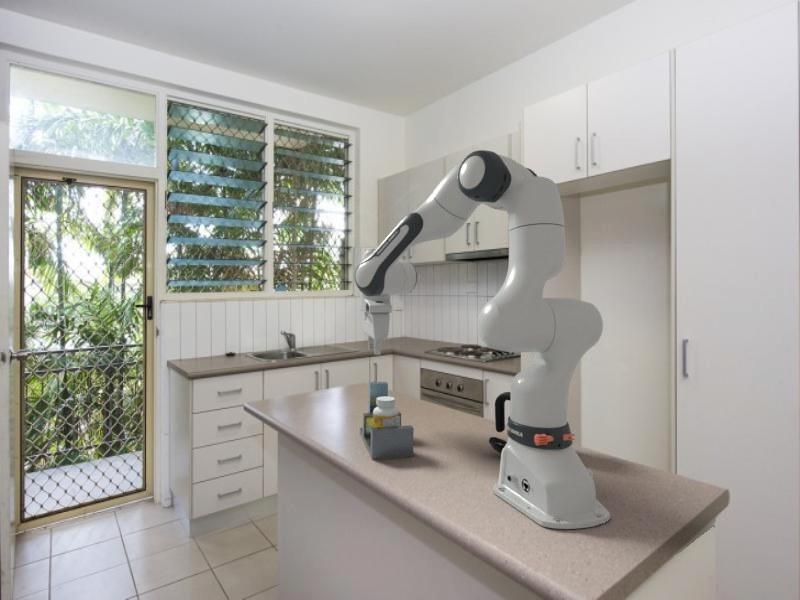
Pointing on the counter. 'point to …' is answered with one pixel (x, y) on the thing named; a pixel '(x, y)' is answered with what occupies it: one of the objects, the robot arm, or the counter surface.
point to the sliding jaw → (374, 405)
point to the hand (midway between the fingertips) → (374, 352)
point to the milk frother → (500, 421)
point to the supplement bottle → (385, 412)
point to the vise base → (389, 442)
